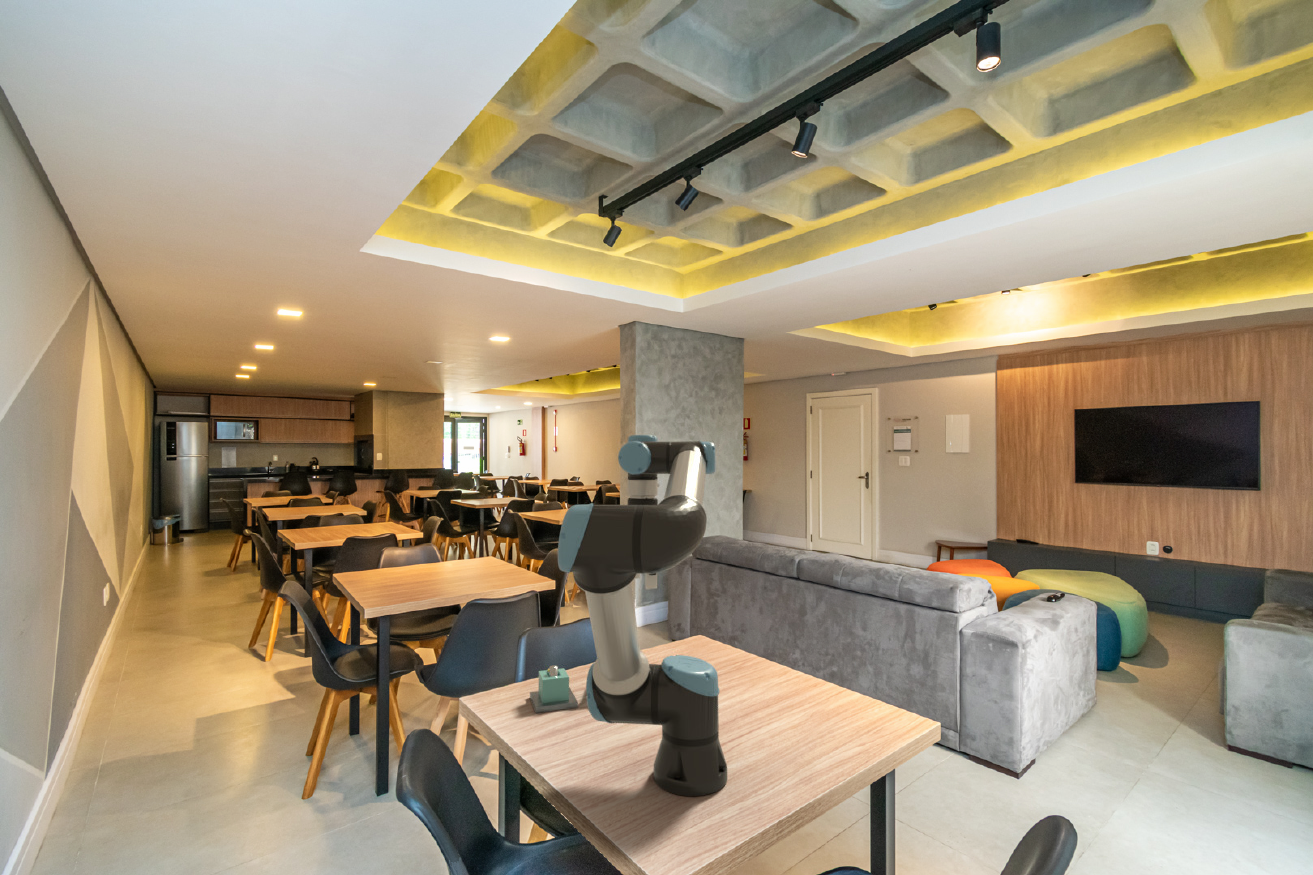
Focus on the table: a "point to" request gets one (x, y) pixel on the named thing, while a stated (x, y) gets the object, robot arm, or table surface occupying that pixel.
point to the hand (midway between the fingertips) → (642, 583)
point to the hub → (553, 686)
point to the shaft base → (552, 706)
